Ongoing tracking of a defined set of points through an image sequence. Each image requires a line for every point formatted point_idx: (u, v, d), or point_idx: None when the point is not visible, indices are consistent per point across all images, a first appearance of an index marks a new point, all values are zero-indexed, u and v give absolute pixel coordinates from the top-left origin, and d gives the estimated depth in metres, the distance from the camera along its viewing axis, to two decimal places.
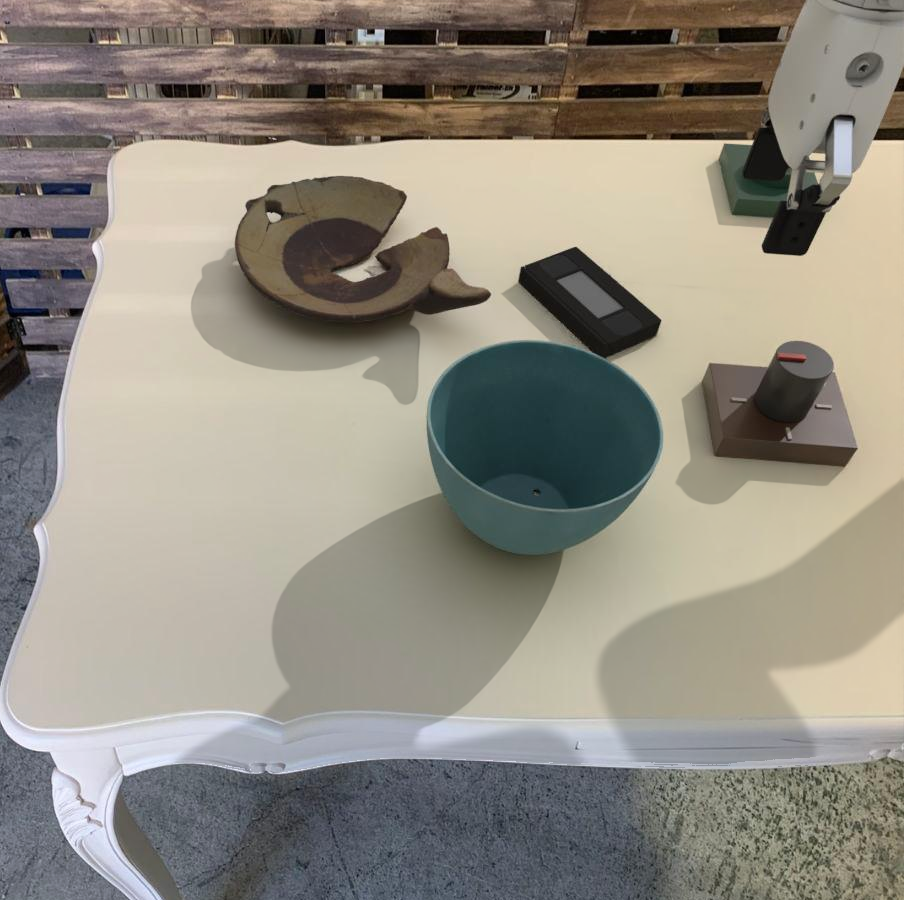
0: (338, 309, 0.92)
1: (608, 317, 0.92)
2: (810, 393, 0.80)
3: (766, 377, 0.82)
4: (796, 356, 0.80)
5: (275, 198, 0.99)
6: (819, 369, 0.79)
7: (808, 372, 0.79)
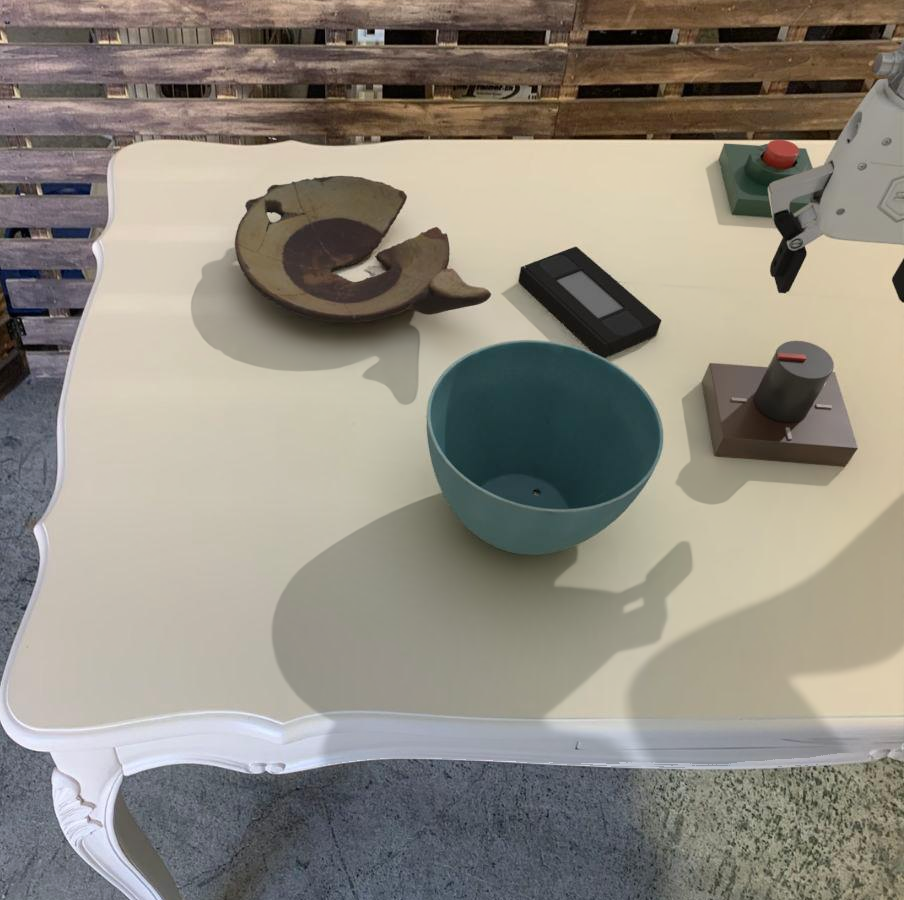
0: (338, 309, 0.92)
1: (608, 317, 0.92)
2: (810, 393, 0.80)
3: (766, 377, 0.82)
4: (796, 356, 0.80)
5: (275, 198, 0.99)
6: (819, 369, 0.79)
7: (808, 372, 0.79)
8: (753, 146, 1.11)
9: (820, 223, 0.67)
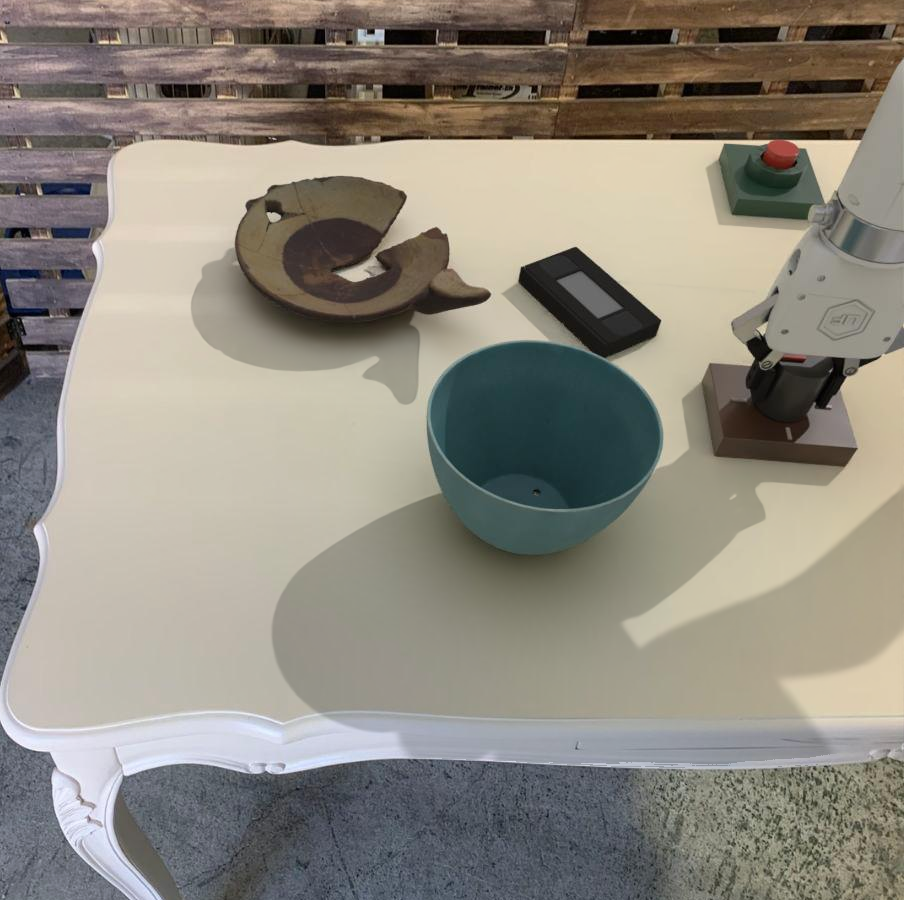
0: (338, 309, 0.92)
1: (608, 317, 0.92)
2: (810, 393, 0.80)
3: None
4: (796, 356, 0.80)
5: (275, 198, 0.99)
6: (819, 369, 0.79)
7: (808, 372, 0.79)
8: (753, 146, 1.11)
9: (768, 340, 0.76)
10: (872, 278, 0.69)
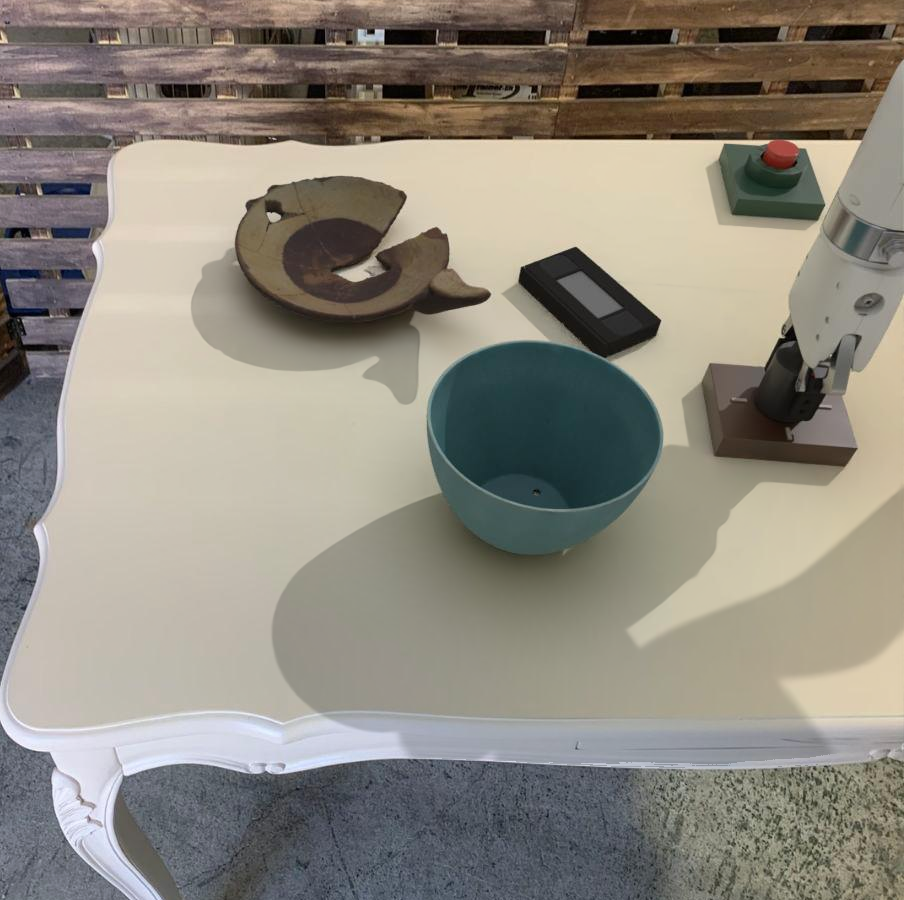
0: (338, 309, 0.92)
1: (607, 317, 0.92)
2: None
3: None
4: None
5: (275, 198, 0.99)
6: None
7: None
8: (753, 146, 1.11)
9: (863, 368, 0.74)
10: None
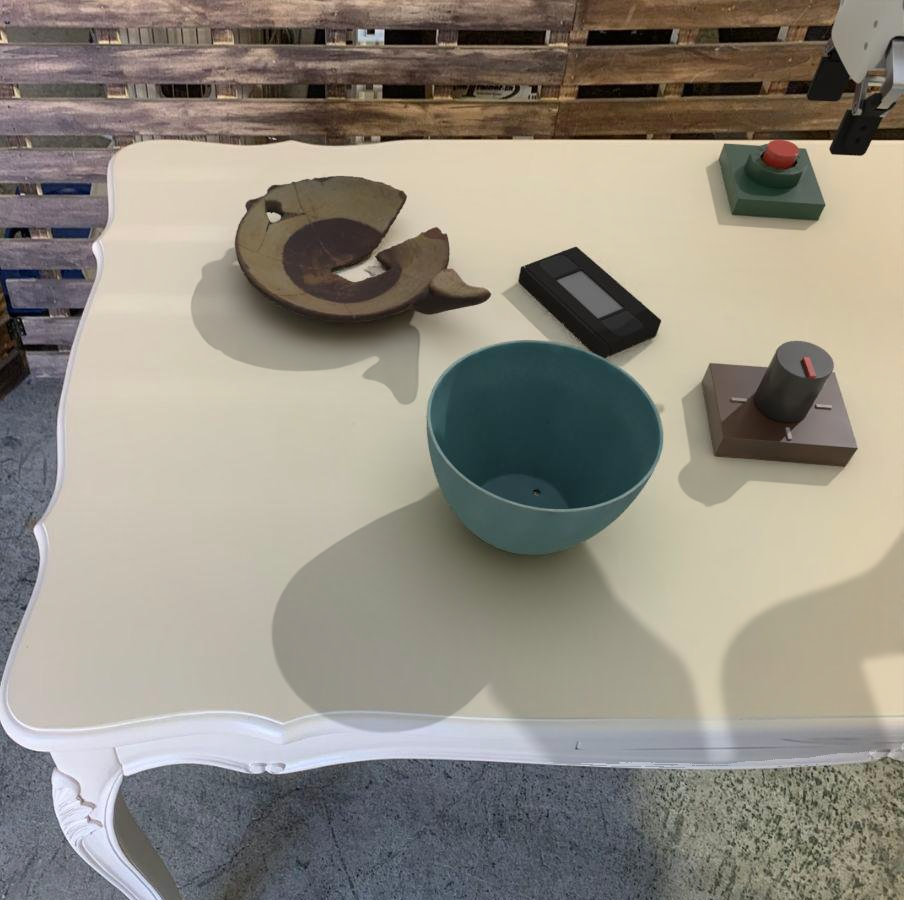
0: (338, 309, 0.92)
1: (607, 317, 0.92)
2: None
3: (802, 398, 0.80)
4: (809, 363, 0.79)
5: (275, 198, 0.99)
6: (816, 352, 0.80)
7: (824, 360, 0.80)
8: (753, 146, 1.11)
9: None
10: None
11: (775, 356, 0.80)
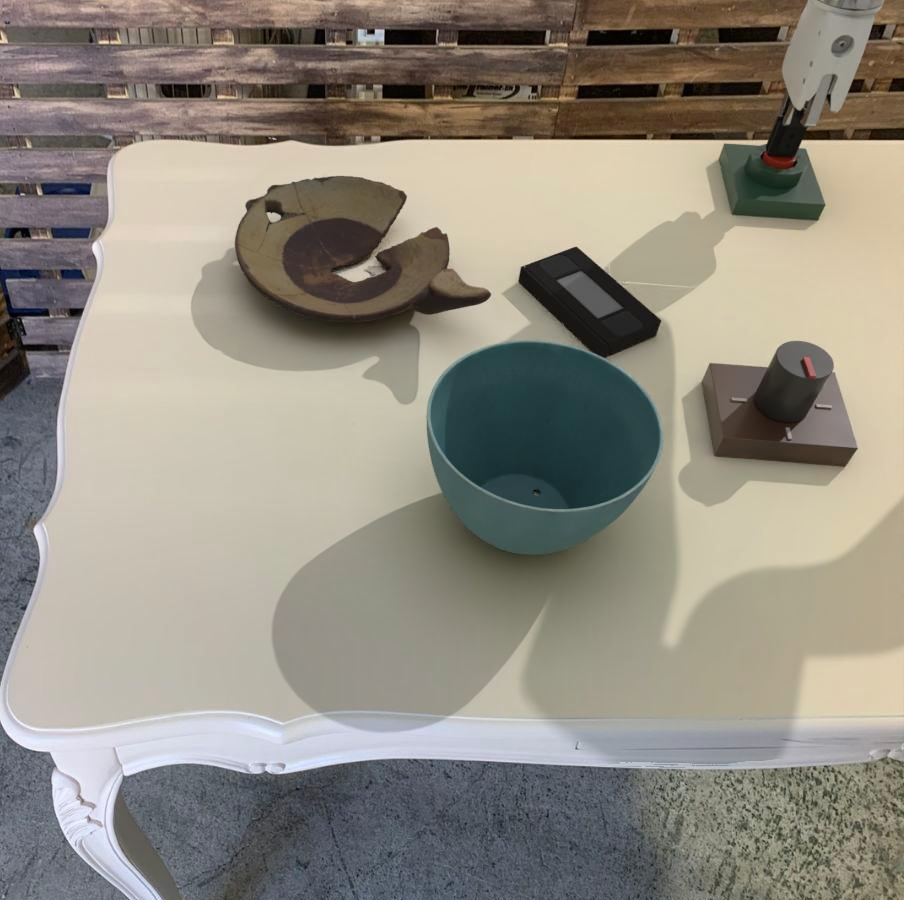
0: (338, 309, 0.92)
1: (607, 317, 0.92)
2: None
3: (802, 398, 0.80)
4: (809, 363, 0.79)
5: (275, 198, 0.99)
6: (816, 352, 0.80)
7: (824, 360, 0.80)
8: (753, 146, 1.11)
9: (839, 107, 0.96)
10: None
11: (775, 356, 0.80)
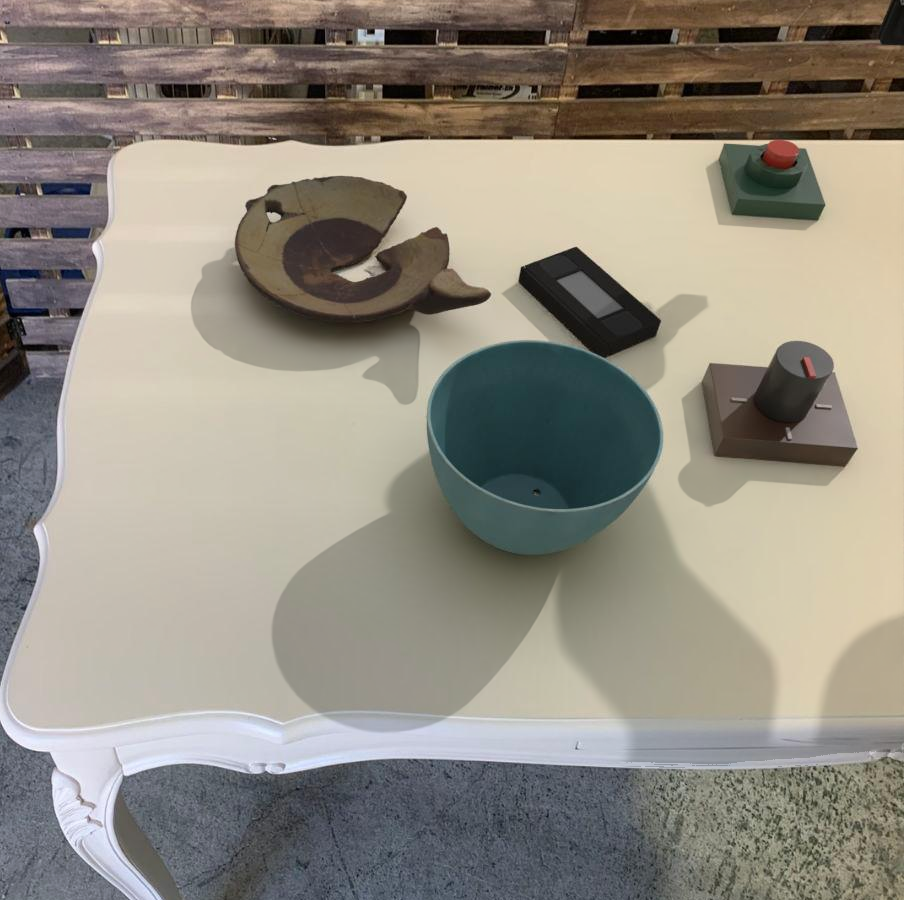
0: (338, 309, 0.92)
1: (607, 317, 0.92)
2: None
3: (802, 398, 0.80)
4: (809, 363, 0.79)
5: (275, 198, 0.99)
6: (816, 352, 0.80)
7: (824, 360, 0.80)
8: (753, 146, 1.11)
9: None
10: None
11: (775, 356, 0.80)
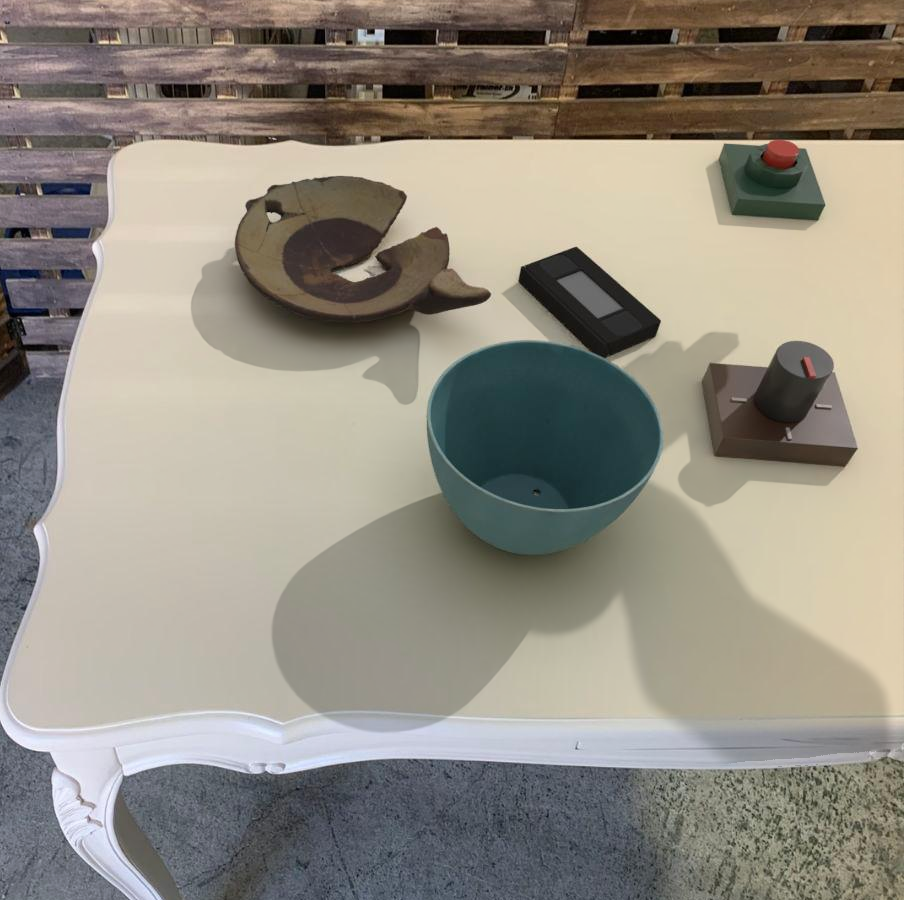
0: (338, 309, 0.92)
1: (607, 317, 0.92)
2: None
3: (802, 398, 0.80)
4: (809, 363, 0.79)
5: (275, 198, 0.99)
6: (816, 352, 0.80)
7: (824, 360, 0.80)
8: (753, 146, 1.11)
9: None
10: None
11: (775, 356, 0.80)
